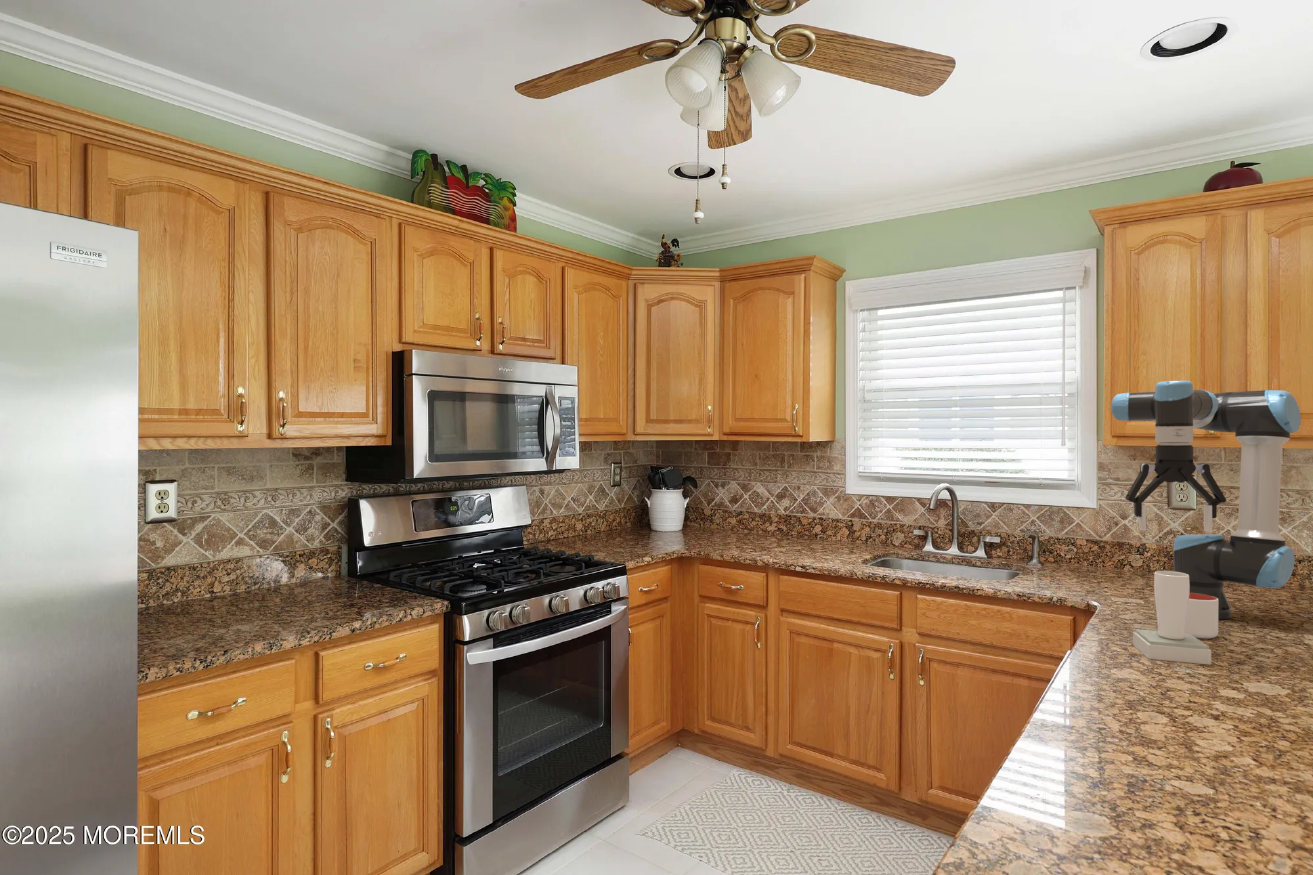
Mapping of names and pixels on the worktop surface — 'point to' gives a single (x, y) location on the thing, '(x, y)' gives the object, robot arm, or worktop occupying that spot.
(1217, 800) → the worktop surface
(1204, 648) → the coaster
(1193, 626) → the cup
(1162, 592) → the drinking glass
